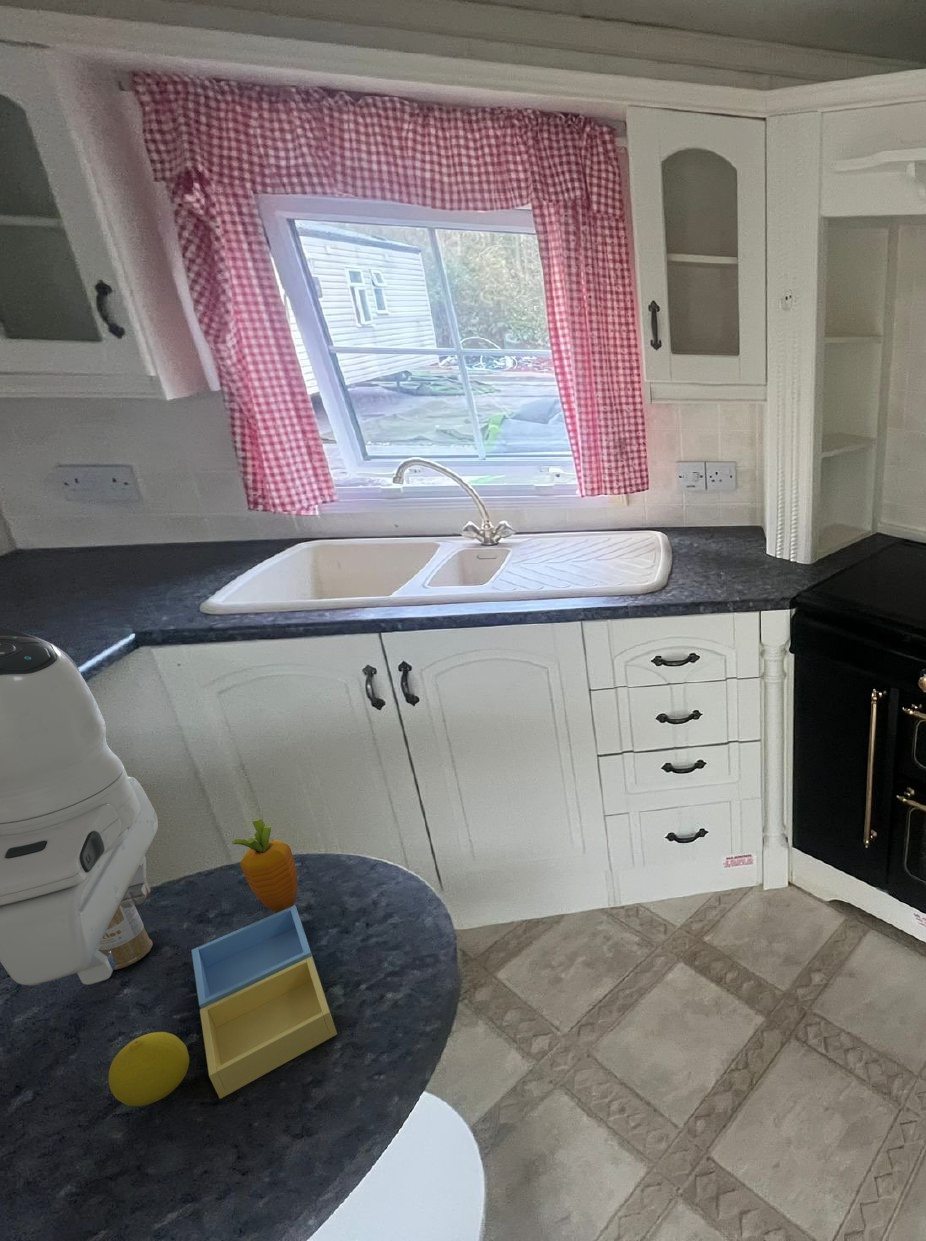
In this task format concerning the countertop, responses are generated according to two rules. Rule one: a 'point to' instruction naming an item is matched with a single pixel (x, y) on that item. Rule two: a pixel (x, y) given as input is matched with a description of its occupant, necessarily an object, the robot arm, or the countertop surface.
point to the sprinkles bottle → (126, 937)
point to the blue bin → (249, 955)
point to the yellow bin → (265, 1026)
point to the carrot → (269, 869)
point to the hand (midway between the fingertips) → (120, 936)
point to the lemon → (148, 1068)
